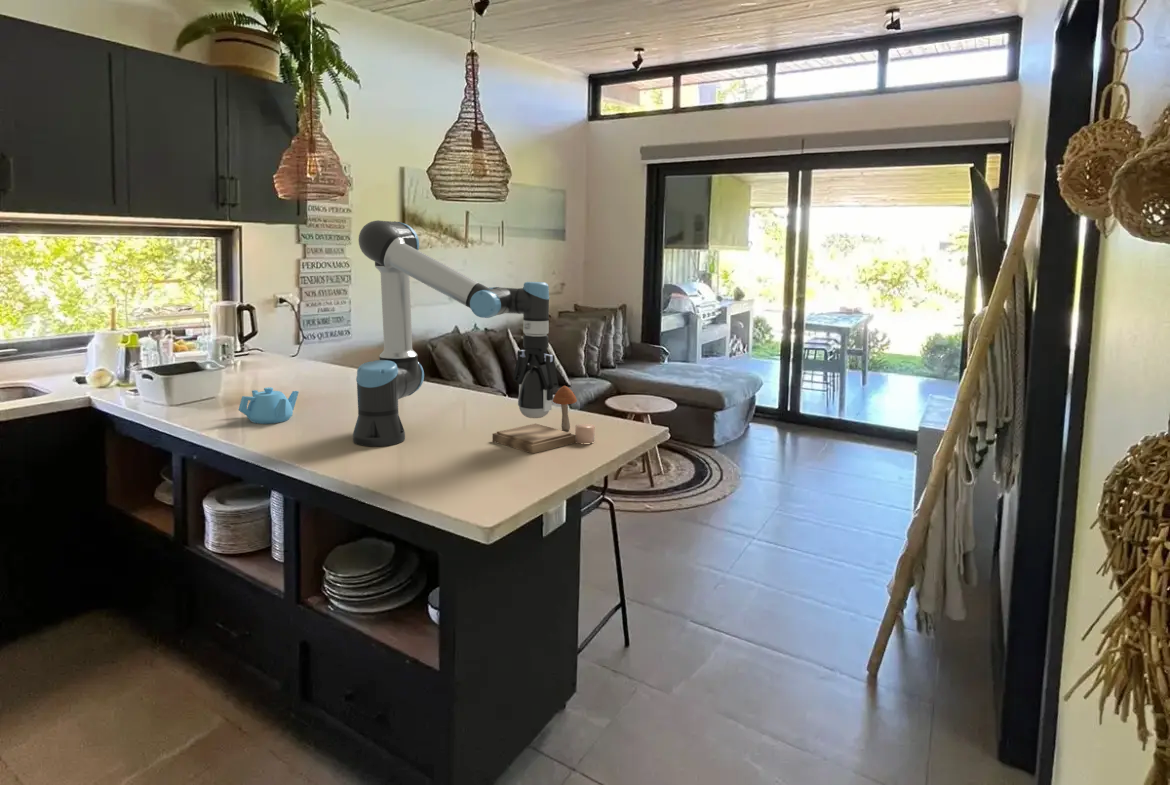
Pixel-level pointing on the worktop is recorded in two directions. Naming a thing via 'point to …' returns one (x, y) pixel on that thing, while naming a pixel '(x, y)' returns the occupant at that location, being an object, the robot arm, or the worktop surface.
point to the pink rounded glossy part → (585, 433)
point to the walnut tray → (534, 438)
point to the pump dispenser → (532, 395)
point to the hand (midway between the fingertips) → (535, 407)
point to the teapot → (268, 406)
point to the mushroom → (564, 404)
